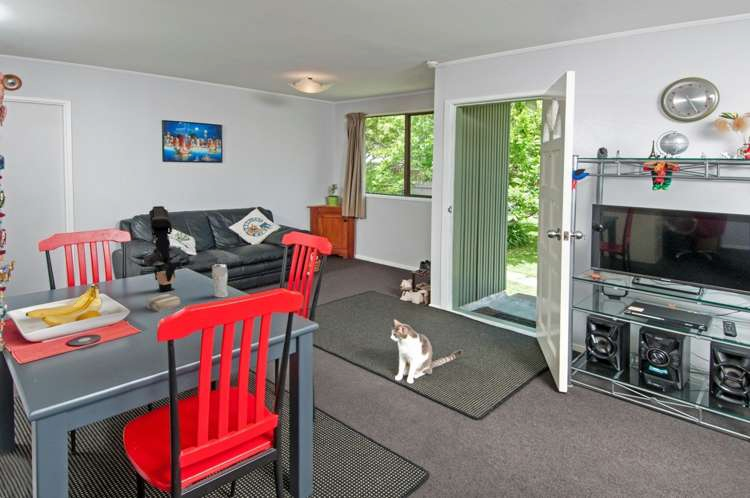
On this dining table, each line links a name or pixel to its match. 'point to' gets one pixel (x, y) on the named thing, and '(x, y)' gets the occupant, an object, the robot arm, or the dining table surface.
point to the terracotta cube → (163, 278)
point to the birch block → (163, 302)
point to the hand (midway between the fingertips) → (165, 280)
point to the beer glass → (220, 280)
